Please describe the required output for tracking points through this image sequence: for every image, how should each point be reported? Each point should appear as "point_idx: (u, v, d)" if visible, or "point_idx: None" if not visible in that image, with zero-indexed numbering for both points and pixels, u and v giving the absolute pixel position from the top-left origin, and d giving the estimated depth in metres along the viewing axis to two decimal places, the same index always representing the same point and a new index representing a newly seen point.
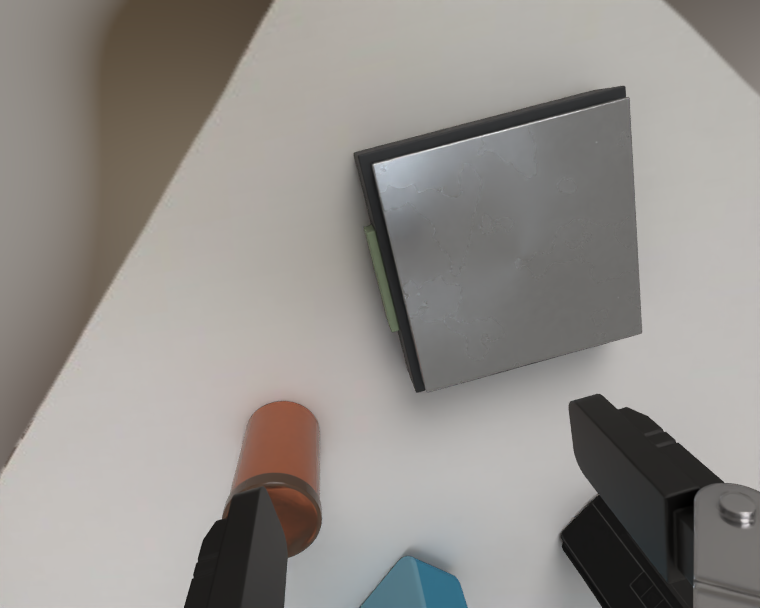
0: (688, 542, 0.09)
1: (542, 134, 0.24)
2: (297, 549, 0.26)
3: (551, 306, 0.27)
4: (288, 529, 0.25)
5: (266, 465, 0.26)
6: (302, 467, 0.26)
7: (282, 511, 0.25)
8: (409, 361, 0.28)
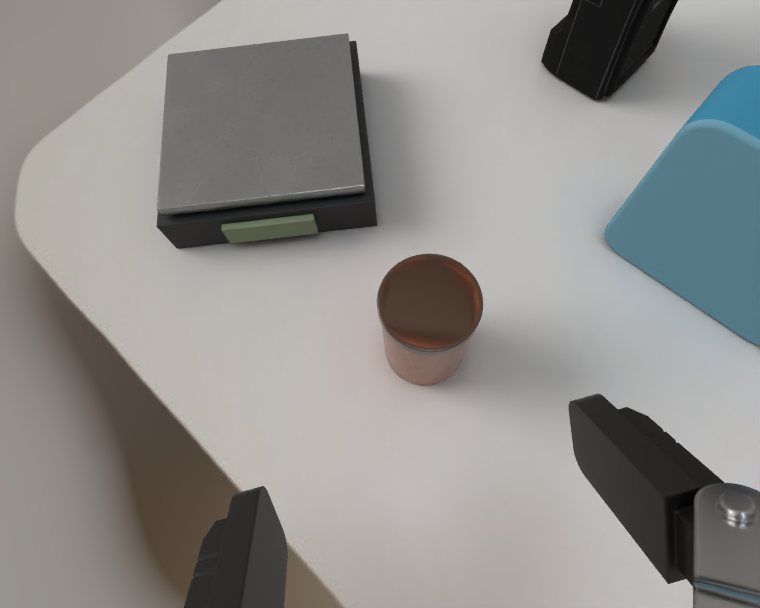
0: (688, 542, 0.09)
1: (173, 102, 0.33)
2: (471, 282, 0.23)
3: (306, 93, 0.33)
4: (441, 286, 0.23)
5: None
6: None
7: (417, 288, 0.23)
8: (340, 205, 0.31)
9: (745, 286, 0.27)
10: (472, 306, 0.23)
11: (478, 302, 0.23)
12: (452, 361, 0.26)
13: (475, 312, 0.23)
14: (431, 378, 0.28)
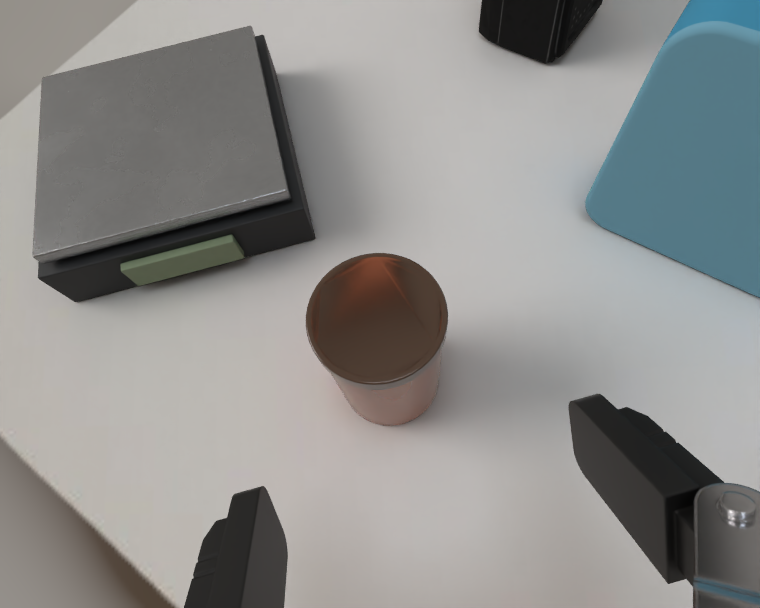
0: (688, 542, 0.09)
1: (49, 129, 0.28)
2: (427, 282, 0.17)
3: (208, 96, 0.28)
4: (389, 293, 0.17)
5: None
6: None
7: (357, 300, 0.17)
8: (263, 218, 0.25)
9: None
10: (433, 313, 0.17)
11: (440, 306, 0.17)
12: (423, 390, 0.20)
13: (439, 320, 0.17)
14: (402, 415, 0.22)
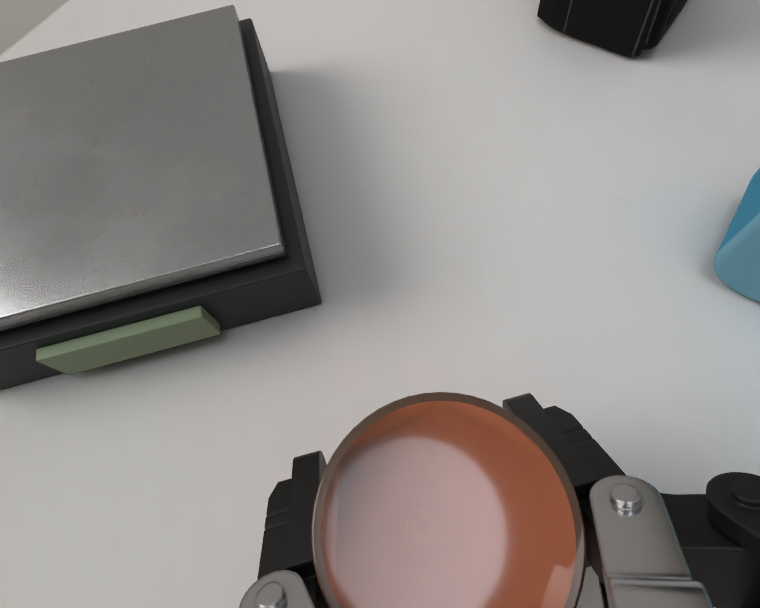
0: (588, 530, 0.09)
1: None
2: (539, 458, 0.09)
3: (170, 102, 0.20)
4: (469, 479, 0.09)
5: None
6: None
7: (408, 492, 0.09)
8: (246, 283, 0.17)
9: None
10: (557, 527, 0.09)
11: (570, 513, 0.09)
12: None
13: (571, 546, 0.09)
14: None
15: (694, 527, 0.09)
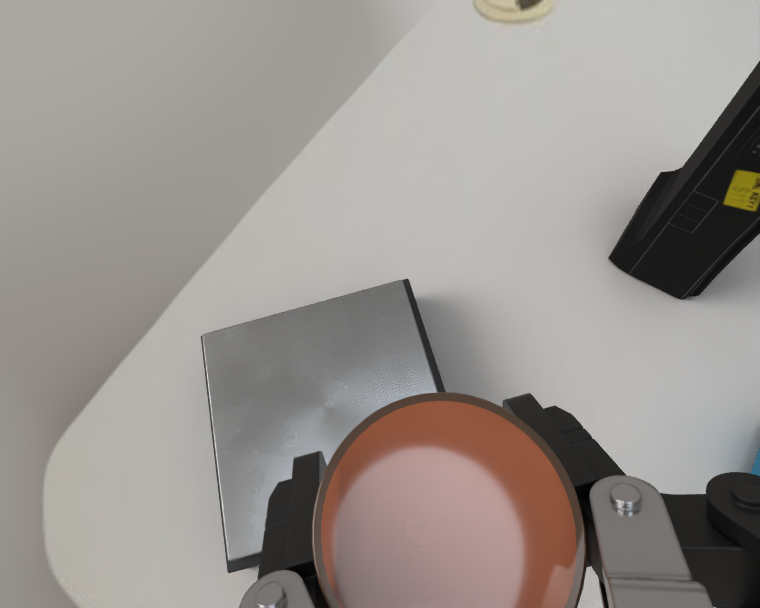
0: (588, 530, 0.09)
1: (220, 401, 0.29)
2: (539, 458, 0.09)
3: (372, 368, 0.29)
4: (469, 480, 0.09)
5: None
6: None
7: (408, 493, 0.09)
8: None
9: None
10: (558, 528, 0.09)
11: (571, 513, 0.09)
12: None
13: (571, 546, 0.09)
14: None
15: (694, 527, 0.09)
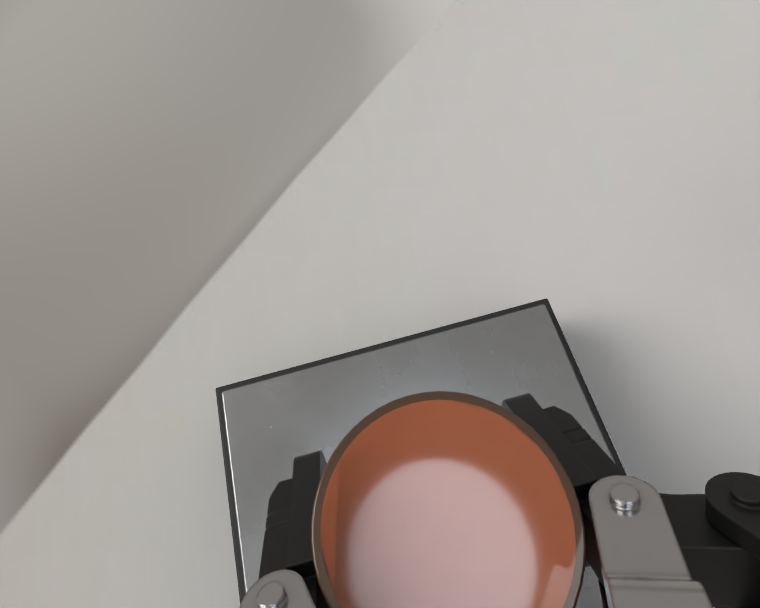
0: (587, 530, 0.09)
1: (254, 511, 0.17)
2: (539, 457, 0.09)
3: None
4: (468, 478, 0.09)
5: None
6: None
7: (408, 491, 0.09)
8: None
9: None
10: (557, 526, 0.09)
11: (570, 512, 0.09)
12: None
13: (570, 544, 0.09)
14: None
15: (693, 527, 0.09)
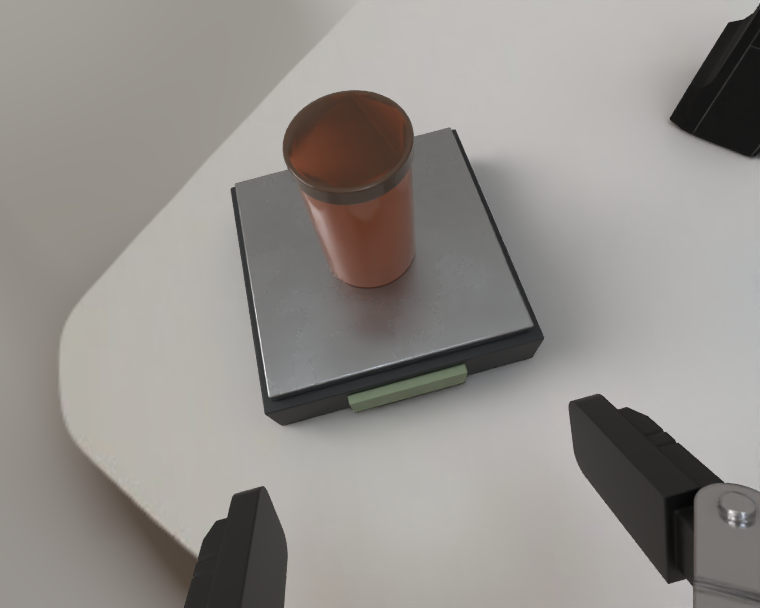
0: (688, 542, 0.09)
1: (256, 245, 0.26)
2: (395, 111, 0.19)
3: (421, 210, 0.26)
4: (360, 121, 0.19)
5: None
6: None
7: (330, 128, 0.19)
8: (501, 349, 0.24)
9: None
10: (400, 135, 0.18)
11: (407, 130, 0.18)
12: (395, 230, 0.21)
13: (405, 141, 0.18)
14: (378, 268, 0.23)
15: None
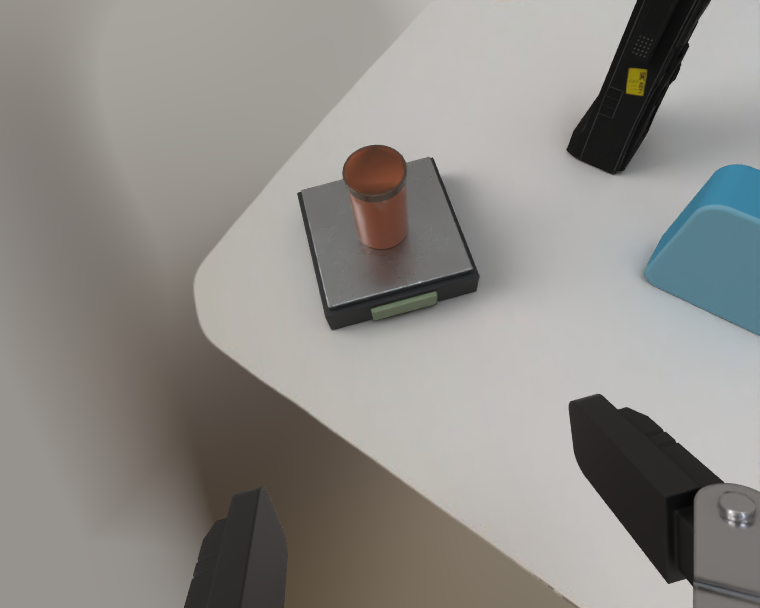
0: (688, 542, 0.09)
1: (316, 226, 0.46)
2: (398, 156, 0.38)
3: (412, 206, 0.46)
4: (380, 161, 0.38)
5: None
6: None
7: (365, 164, 0.38)
8: (455, 282, 0.43)
9: (753, 300, 0.39)
10: (400, 168, 0.38)
11: (403, 166, 0.38)
12: (397, 215, 0.40)
13: (402, 171, 0.37)
14: (388, 237, 0.42)
15: None
